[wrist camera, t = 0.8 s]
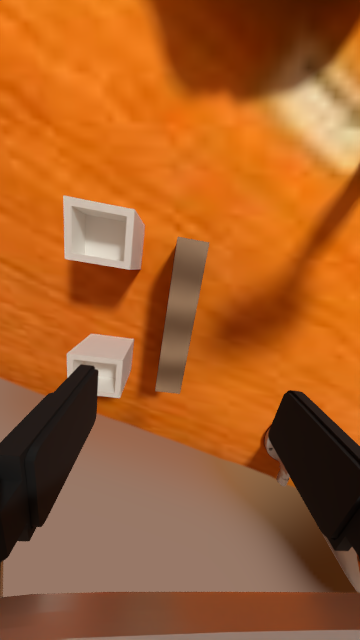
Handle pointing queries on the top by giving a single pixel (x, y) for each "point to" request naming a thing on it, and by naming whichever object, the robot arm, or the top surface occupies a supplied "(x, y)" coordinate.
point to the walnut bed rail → (180, 312)
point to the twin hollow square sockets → (109, 250)
